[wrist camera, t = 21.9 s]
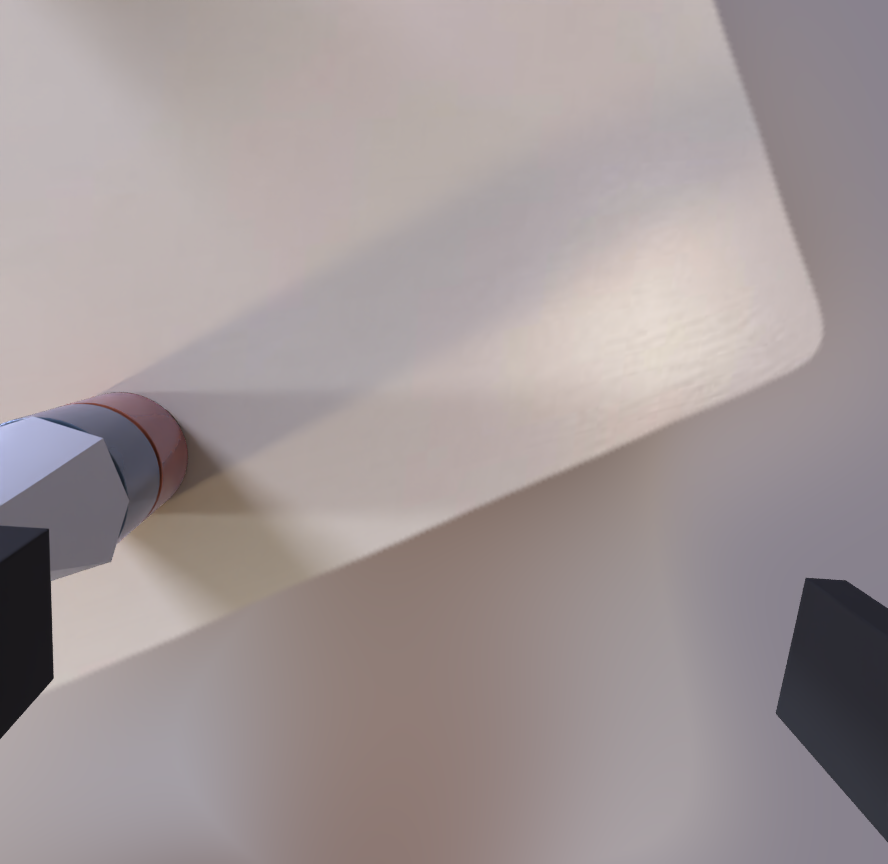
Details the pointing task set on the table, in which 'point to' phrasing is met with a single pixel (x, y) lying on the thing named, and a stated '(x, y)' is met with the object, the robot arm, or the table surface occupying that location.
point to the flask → (62, 492)
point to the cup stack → (131, 446)
